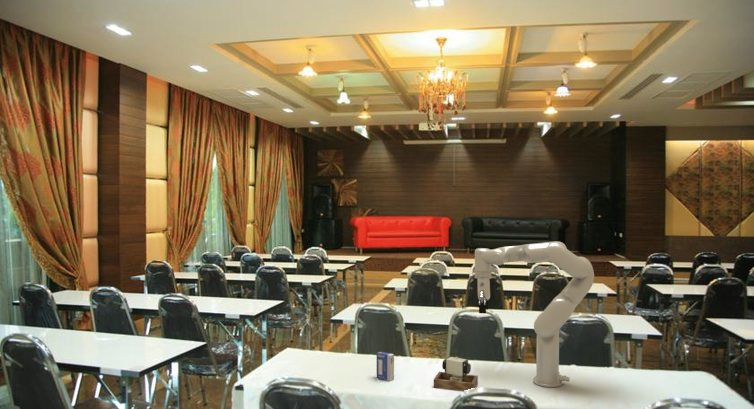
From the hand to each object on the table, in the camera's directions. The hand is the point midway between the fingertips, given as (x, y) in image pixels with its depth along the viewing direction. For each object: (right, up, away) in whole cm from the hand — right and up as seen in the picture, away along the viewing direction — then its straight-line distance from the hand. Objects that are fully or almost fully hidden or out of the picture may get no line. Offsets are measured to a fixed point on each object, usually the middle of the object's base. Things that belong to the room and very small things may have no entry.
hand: (483, 311), depth 250 cm
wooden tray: (-15, -30, -16) cm, 37 cm away
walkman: (-46, -30, -7) cm, 55 cm away
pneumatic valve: (-15, -29, -15) cm, 36 cm away
